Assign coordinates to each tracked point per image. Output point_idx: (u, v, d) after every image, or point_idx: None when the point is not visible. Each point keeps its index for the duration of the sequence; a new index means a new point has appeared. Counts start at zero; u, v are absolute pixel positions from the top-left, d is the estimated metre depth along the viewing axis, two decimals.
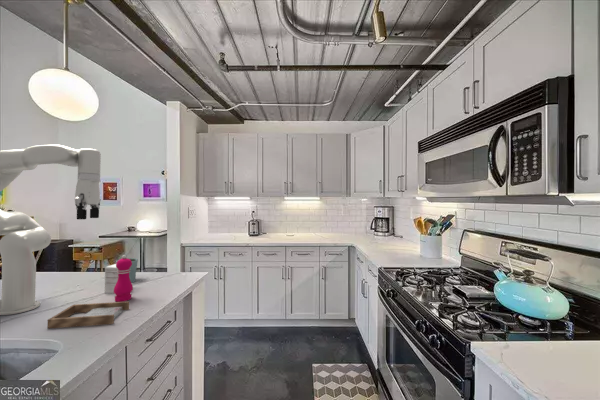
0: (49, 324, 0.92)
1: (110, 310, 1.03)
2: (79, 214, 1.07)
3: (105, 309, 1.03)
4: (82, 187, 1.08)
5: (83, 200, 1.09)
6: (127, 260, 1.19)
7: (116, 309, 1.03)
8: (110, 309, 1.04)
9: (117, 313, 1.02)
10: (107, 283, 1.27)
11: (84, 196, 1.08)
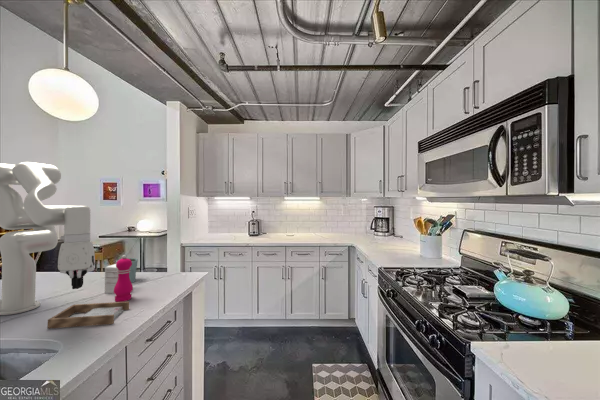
0: (49, 324, 0.92)
1: (110, 310, 1.03)
2: (81, 282, 0.99)
3: (105, 309, 1.03)
4: (92, 249, 1.01)
5: None
6: (127, 260, 1.19)
7: (117, 309, 1.03)
8: (110, 309, 1.04)
9: (117, 313, 1.02)
10: (107, 283, 1.27)
11: (94, 258, 1.01)
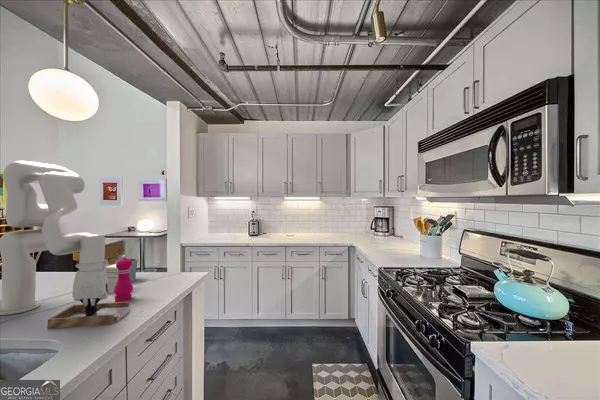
0: (49, 324, 0.92)
1: (117, 310, 1.02)
2: (94, 310, 1.00)
3: (112, 309, 1.03)
4: (106, 277, 1.01)
5: None
6: (127, 260, 1.19)
7: (123, 310, 1.03)
8: (118, 309, 1.04)
9: (124, 314, 1.02)
10: None
11: (107, 286, 1.02)
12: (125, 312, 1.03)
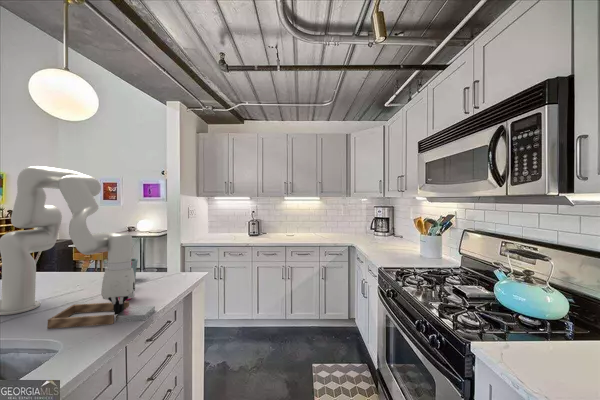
0: (49, 324, 0.92)
1: (143, 309, 1.04)
2: (122, 308, 1.02)
3: (139, 308, 1.05)
4: (133, 276, 1.03)
5: None
6: None
7: (149, 308, 1.04)
8: (144, 307, 1.05)
9: (150, 312, 1.03)
10: None
11: (134, 284, 1.04)
12: (151, 310, 1.04)
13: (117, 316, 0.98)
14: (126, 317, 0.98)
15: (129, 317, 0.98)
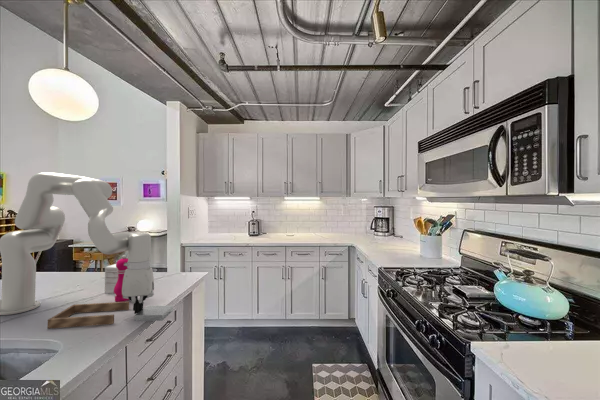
0: (49, 324, 0.92)
1: (161, 309, 1.04)
2: (142, 307, 1.04)
3: (157, 307, 1.05)
4: (152, 275, 1.05)
5: None
6: (127, 260, 1.19)
7: (167, 308, 1.05)
8: (162, 307, 1.06)
9: (168, 312, 1.04)
10: (107, 283, 1.27)
11: (153, 283, 1.06)
12: (169, 310, 1.05)
13: (136, 315, 0.98)
14: (145, 316, 0.99)
15: (148, 316, 0.99)
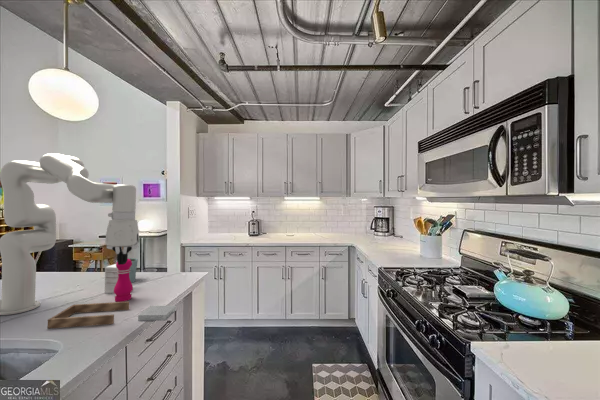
0: (49, 324, 0.92)
1: (164, 309, 1.04)
2: (126, 258, 1.03)
3: (160, 307, 1.06)
4: (137, 227, 1.04)
5: None
6: (127, 260, 1.19)
7: (170, 308, 1.05)
8: (165, 307, 1.06)
9: (171, 312, 1.04)
10: (107, 283, 1.27)
11: (138, 236, 1.05)
12: (172, 310, 1.05)
13: (139, 315, 0.99)
14: (148, 316, 0.99)
15: (151, 316, 0.99)
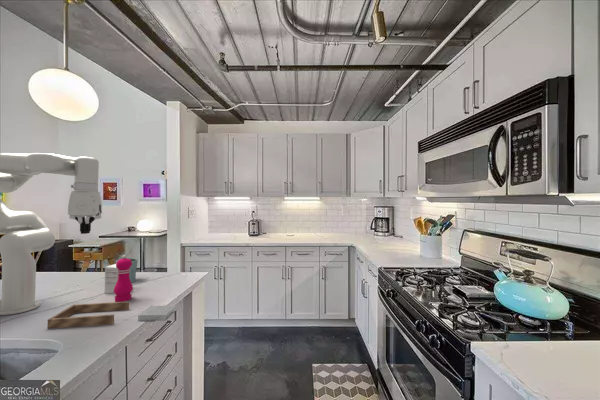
0: (49, 324, 0.92)
1: (164, 309, 1.04)
2: (89, 228, 1.07)
3: (160, 307, 1.06)
4: (99, 198, 1.08)
5: None
6: (127, 260, 1.19)
7: (170, 308, 1.05)
8: (165, 307, 1.06)
9: (171, 312, 1.04)
10: (107, 283, 1.27)
11: (101, 207, 1.09)
12: (172, 311, 1.05)
13: (139, 315, 0.99)
14: (148, 316, 0.99)
15: (151, 316, 0.99)
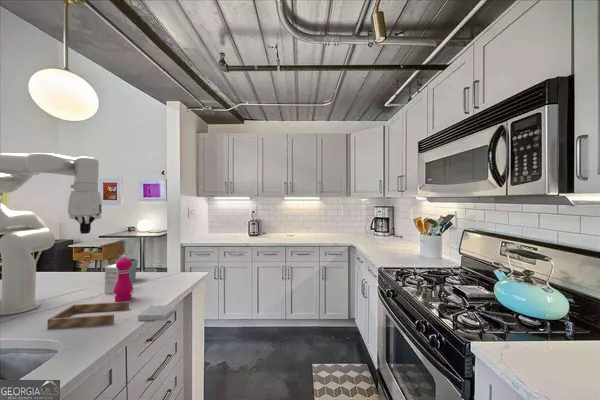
0: (49, 324, 0.92)
1: (164, 309, 1.04)
2: (89, 228, 1.07)
3: (160, 307, 1.06)
4: (99, 198, 1.08)
5: None
6: (127, 260, 1.19)
7: (170, 308, 1.05)
8: (165, 307, 1.06)
9: (171, 312, 1.04)
10: (107, 283, 1.27)
11: (101, 207, 1.09)
12: (172, 311, 1.05)
13: (139, 315, 0.99)
14: (148, 316, 0.99)
15: (151, 316, 0.99)
